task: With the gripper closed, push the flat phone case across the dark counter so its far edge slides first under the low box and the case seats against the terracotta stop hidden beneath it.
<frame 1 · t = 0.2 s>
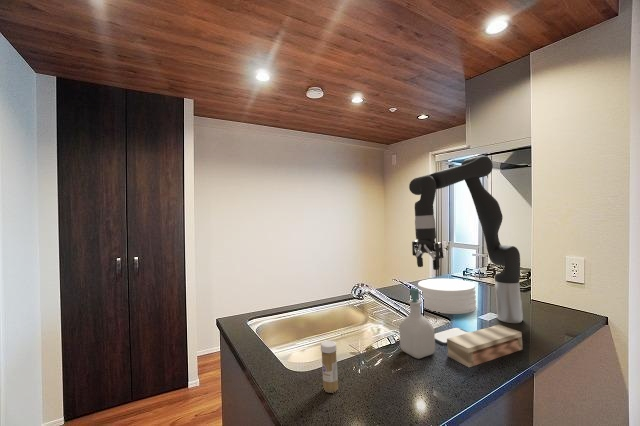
hand: (428, 268, 114), 28 cm above the counter, tool pointing down, fingers open, 8 cm apart
soap bottle: (417, 353, 104), on the counter
low box: (480, 350, 103), on the counter
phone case: (450, 338, 115), on the counter
plate stack: (446, 305, 155), on the counter
sprinkles bottle: (330, 390, 84), on the counter
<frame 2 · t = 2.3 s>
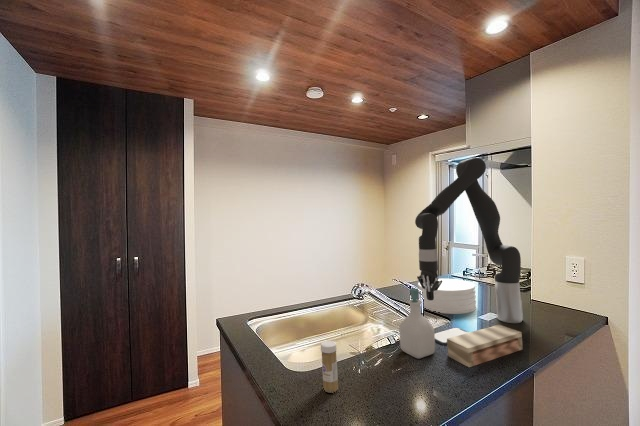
hand: (430, 299, 125), 12 cm above the counter, tool pointing down, fingers closed
nothing on the counter moved.
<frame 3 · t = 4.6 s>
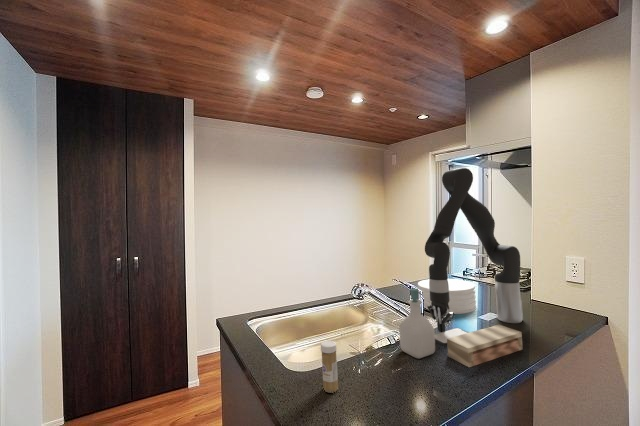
hand: (441, 331, 120), 1 cm above the counter, tool pointing down, fingers closed
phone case: (451, 339, 115), on the counter, touching gripper
everything else where it was.
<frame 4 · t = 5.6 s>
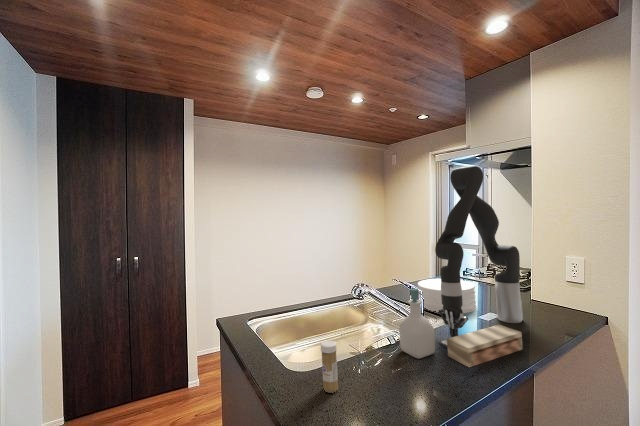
hand: (454, 337, 114), 1 cm above the counter, tool pointing down, fingers closed
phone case: (464, 345, 108), on the counter, touching gripper
everything else where it was.
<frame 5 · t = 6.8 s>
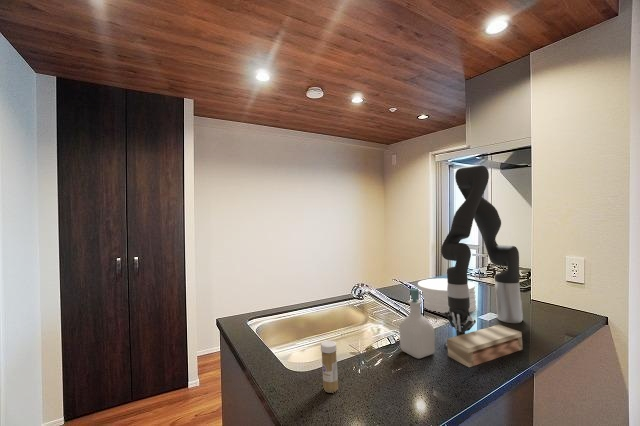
hand: (461, 340, 111), 1 cm above the counter, tool pointing down, fingers closed
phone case: (470, 349, 105), on the counter, touching gripper
everything else where it was.
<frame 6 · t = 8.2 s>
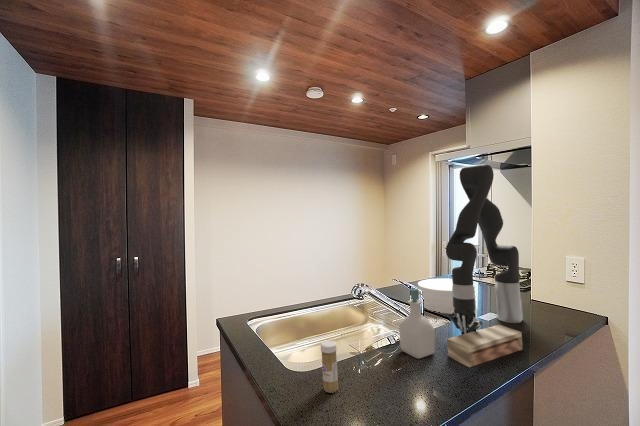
hand: (466, 342, 108), 1 cm above the counter, tool pointing down, fingers closed
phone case: (474, 352, 103), on the counter
everything else where it was.
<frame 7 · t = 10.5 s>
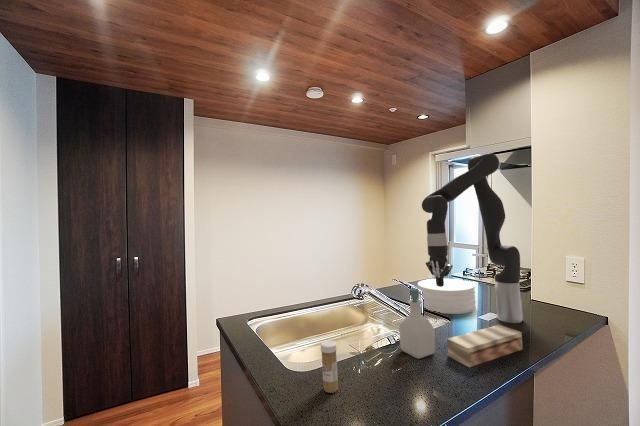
hand: (440, 286, 119), 19 cm above the counter, tool pointing down, fingers closed
nothing on the counter moved.
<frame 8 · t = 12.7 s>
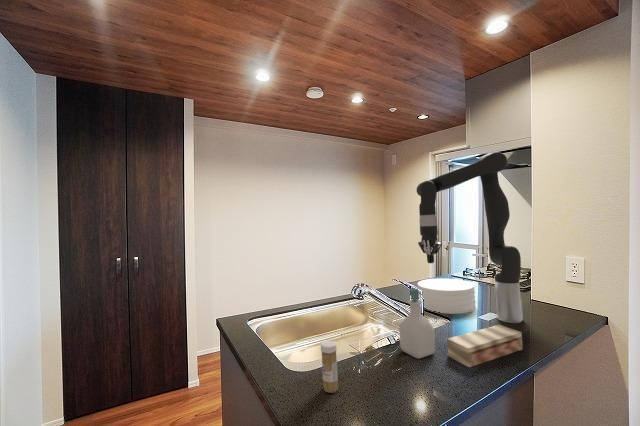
hand: (430, 263, 132), 27 cm above the counter, tool pointing down, fingers closed
nothing on the counter moved.
at the end: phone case 2.5 cm from the target spot on the low box, point -0.7 cm above the low box's base; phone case moved 12.6 cm from its start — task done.
